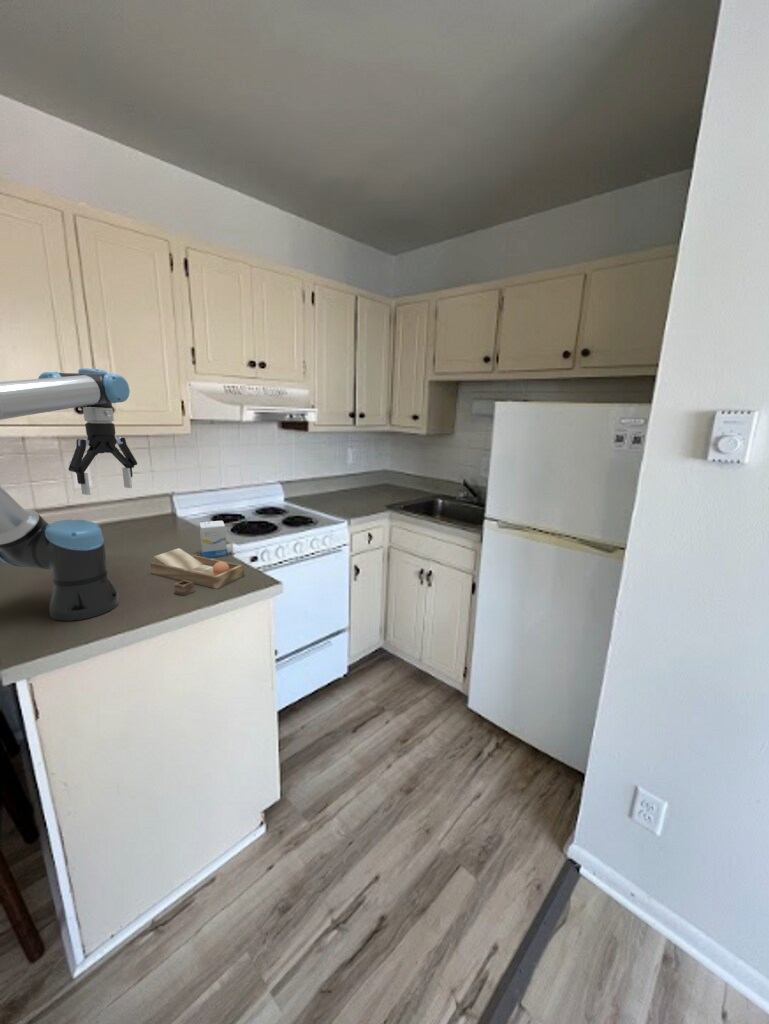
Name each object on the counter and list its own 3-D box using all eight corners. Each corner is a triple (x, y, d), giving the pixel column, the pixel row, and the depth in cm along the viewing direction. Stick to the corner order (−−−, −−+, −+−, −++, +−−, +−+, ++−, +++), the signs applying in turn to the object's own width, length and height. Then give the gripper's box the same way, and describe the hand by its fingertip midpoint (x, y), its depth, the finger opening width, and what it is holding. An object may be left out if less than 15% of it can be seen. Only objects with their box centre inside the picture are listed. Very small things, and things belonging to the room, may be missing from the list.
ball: (218, 563, 131) (223, 578, 132) (230, 558, 136) (234, 573, 136) (207, 565, 133) (211, 580, 134) (219, 560, 138) (223, 575, 138)
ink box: (227, 555, 158) (225, 525, 155) (202, 558, 154) (200, 527, 151) (224, 549, 165) (222, 519, 162) (200, 551, 161) (198, 521, 159)
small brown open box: (184, 595, 123) (183, 586, 123) (174, 593, 125) (173, 584, 124) (194, 590, 127) (193, 581, 126) (185, 588, 128) (184, 579, 128)
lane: (216, 589, 129) (215, 571, 127) (151, 573, 139) (149, 557, 138) (244, 576, 140) (243, 559, 138) (181, 562, 150) (180, 546, 149)
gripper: (63, 423, 117) (74, 498, 122) (145, 422, 140) (151, 486, 145) (46, 422, 120) (58, 496, 125) (129, 421, 142) (136, 484, 147)
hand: (108, 490), depth 135 cm, fingers open, 13 cm apart
